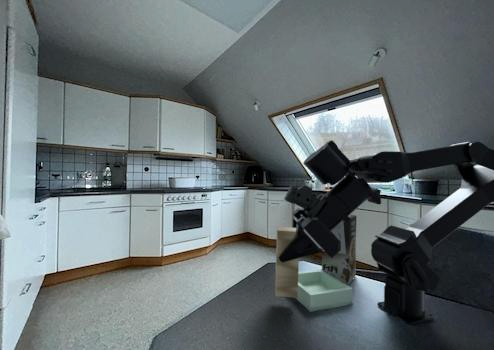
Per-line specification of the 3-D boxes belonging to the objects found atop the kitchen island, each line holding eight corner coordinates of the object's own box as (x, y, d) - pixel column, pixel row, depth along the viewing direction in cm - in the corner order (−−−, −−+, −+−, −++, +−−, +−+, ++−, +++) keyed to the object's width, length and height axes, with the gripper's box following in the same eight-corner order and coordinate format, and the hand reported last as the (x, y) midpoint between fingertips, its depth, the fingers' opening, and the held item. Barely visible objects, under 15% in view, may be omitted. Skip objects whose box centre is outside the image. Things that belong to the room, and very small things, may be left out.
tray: (320, 282, 53) (320, 269, 53) (352, 304, 44) (353, 288, 44) (283, 287, 50) (284, 273, 50) (310, 311, 41) (310, 295, 41)
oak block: (295, 287, 44) (296, 227, 45) (297, 298, 40) (299, 231, 41) (275, 286, 45) (277, 226, 45) (275, 296, 41) (277, 230, 41)
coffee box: (348, 288, 51) (349, 218, 52) (320, 280, 55) (322, 215, 55) (356, 276, 58) (357, 214, 59) (331, 269, 62) (332, 212, 63)
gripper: (302, 174, 52) (254, 218, 53) (321, 168, 34) (246, 236, 34) (336, 209, 51) (286, 253, 52) (374, 222, 33) (296, 291, 33)
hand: (279, 256), depth 43 cm, fingers closed on oak block, 4 cm apart
